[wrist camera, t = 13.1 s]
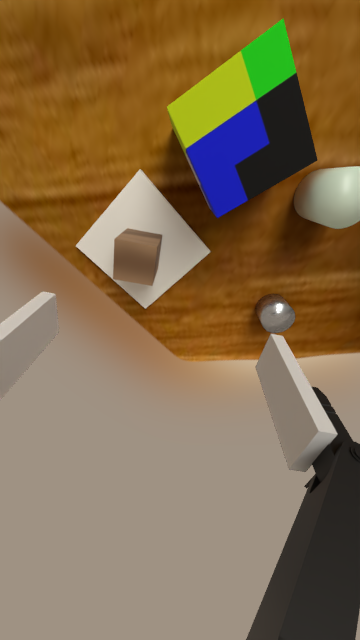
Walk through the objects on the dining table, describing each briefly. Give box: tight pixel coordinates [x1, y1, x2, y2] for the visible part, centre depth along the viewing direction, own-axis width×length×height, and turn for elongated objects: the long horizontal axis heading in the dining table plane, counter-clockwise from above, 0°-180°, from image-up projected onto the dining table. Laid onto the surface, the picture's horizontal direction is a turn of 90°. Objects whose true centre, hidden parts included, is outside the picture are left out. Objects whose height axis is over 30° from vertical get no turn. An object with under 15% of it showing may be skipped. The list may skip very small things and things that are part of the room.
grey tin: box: [255, 294, 295, 333], centre depth 39 cm, size 5×5×4 cm
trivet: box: [76, 169, 211, 309], centre depth 36 cm, size 14×14×1 cm
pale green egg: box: [294, 166, 360, 229], centre depth 29 cm, size 6×6×7 cm
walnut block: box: [113, 228, 162, 286], centre depth 32 cm, size 5×5×7 cm
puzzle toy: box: [167, 19, 317, 218], centre depth 26 cm, size 10×10×10 cm
